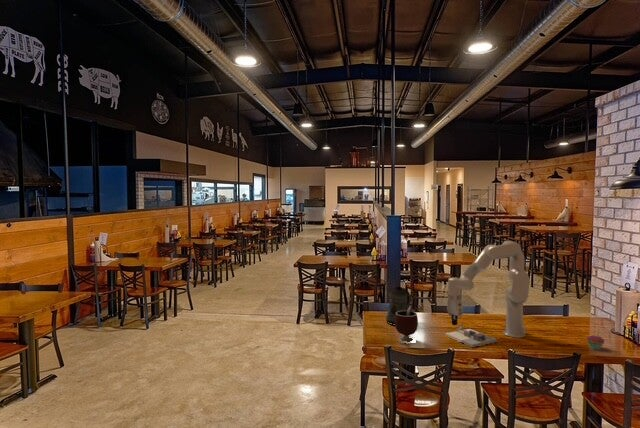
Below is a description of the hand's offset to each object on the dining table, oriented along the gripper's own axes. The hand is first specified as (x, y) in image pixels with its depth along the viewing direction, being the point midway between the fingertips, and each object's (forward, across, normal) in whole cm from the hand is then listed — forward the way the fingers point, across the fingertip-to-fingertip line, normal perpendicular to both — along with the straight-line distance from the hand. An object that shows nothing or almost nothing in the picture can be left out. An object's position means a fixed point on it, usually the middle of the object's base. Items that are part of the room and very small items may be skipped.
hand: (454, 324), depth 262 cm
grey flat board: (+5, -14, 0) cm, 15 cm away
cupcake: (+6, -56, -52) cm, 77 cm away
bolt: (+3, -8, 0) cm, 8 cm away
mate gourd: (+6, +2, +36) cm, 37 cm away
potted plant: (+6, +35, +19) cm, 40 cm away
